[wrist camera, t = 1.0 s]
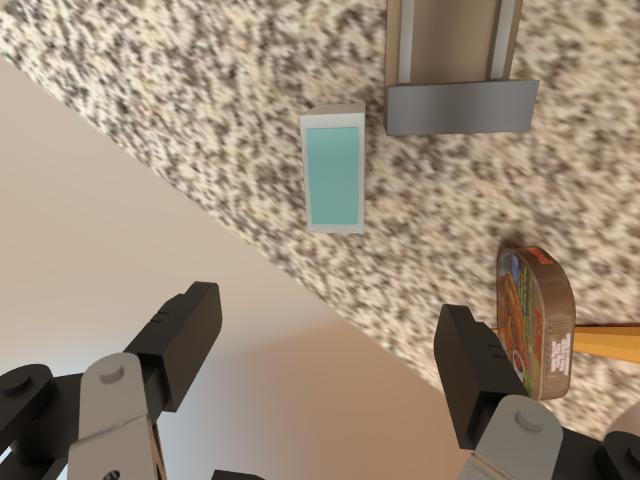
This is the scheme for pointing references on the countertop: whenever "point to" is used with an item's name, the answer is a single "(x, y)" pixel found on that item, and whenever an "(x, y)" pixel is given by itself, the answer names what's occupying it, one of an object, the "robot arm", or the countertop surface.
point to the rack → (454, 68)
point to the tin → (536, 320)
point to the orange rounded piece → (608, 342)
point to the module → (334, 167)
